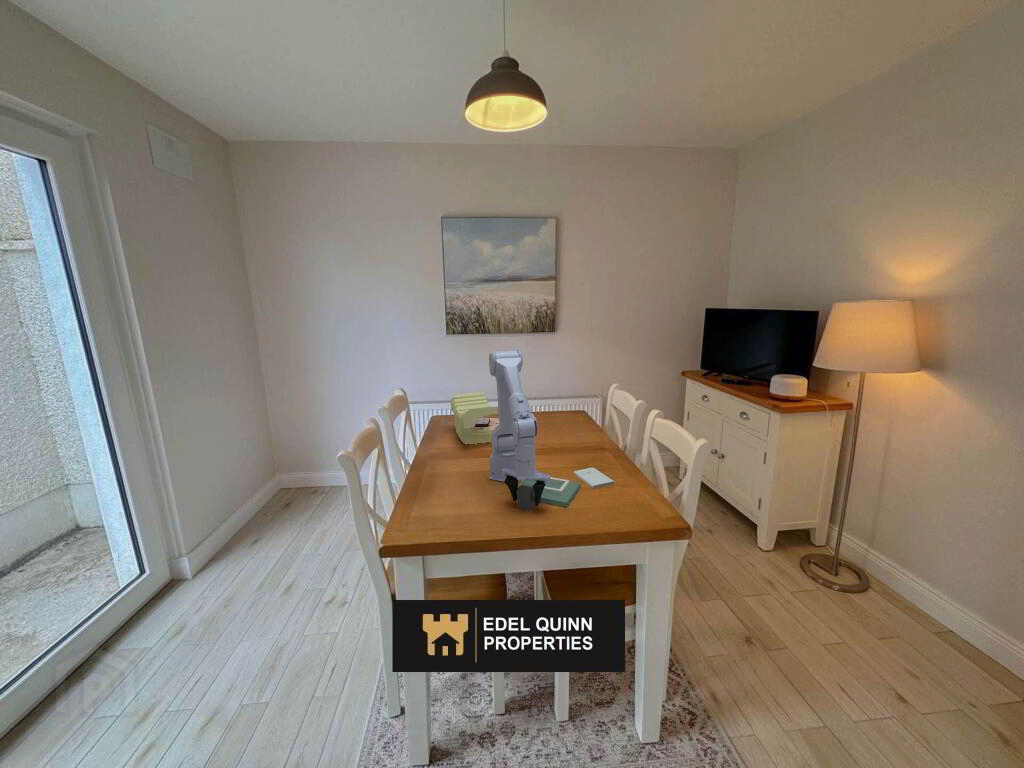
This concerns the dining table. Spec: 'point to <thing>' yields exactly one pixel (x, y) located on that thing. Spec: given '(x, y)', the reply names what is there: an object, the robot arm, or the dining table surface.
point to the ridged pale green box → (471, 416)
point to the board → (557, 491)
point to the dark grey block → (525, 497)
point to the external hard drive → (593, 477)
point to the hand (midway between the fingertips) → (526, 502)
